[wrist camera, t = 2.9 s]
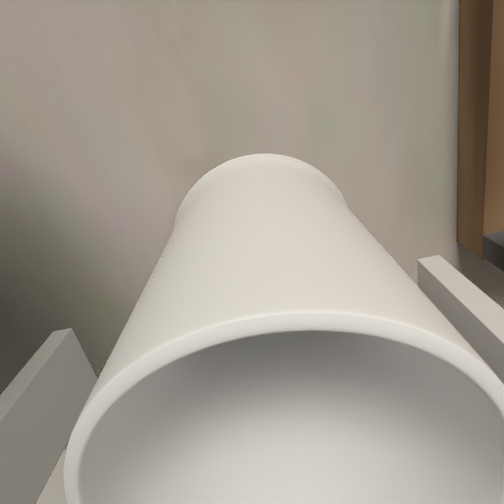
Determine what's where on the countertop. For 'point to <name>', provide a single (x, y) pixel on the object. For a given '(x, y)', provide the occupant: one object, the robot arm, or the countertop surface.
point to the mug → (285, 365)
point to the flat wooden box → (481, 129)
